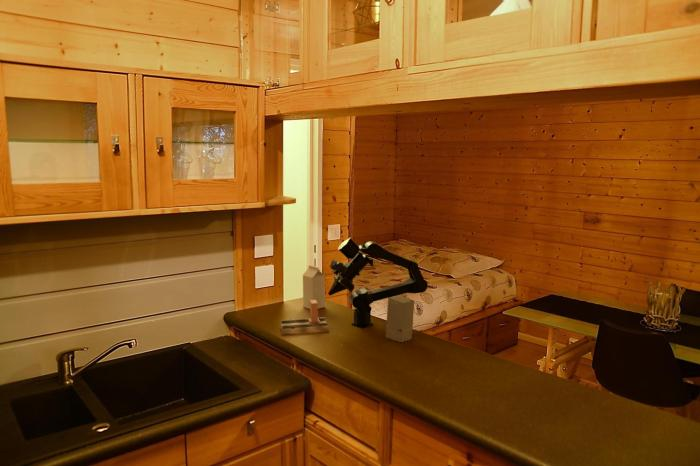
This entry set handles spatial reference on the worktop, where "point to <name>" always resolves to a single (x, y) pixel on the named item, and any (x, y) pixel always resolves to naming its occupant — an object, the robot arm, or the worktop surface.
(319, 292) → the milk carton
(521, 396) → the worktop surface
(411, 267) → the robot arm
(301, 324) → the slider board
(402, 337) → the skincare box
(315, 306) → the fader tab
